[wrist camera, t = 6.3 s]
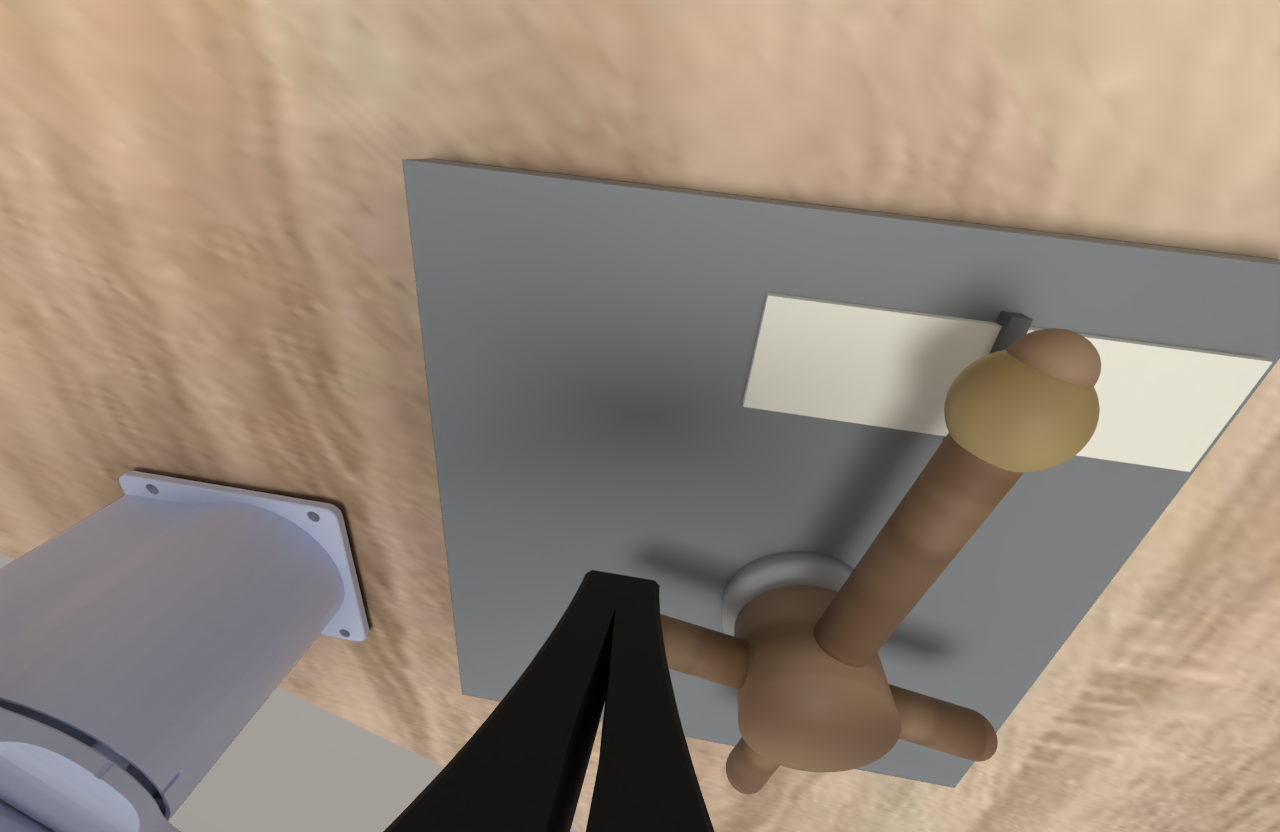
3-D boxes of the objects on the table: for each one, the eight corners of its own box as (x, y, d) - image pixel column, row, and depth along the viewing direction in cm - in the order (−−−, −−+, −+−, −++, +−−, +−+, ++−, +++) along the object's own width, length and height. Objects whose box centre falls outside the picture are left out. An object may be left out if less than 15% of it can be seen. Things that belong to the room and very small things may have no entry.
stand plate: (475, 665, 25) (454, 711, 22) (431, 158, 14) (384, 160, 12) (940, 751, 23) (962, 808, 21) (1278, 259, 13) (1385, 280, 11)
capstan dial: (877, 769, 20) (904, 870, 17) (593, 683, 20) (574, 771, 17) (1263, 384, 12) (1439, 459, 9) (774, 225, 11) (795, 250, 9)
